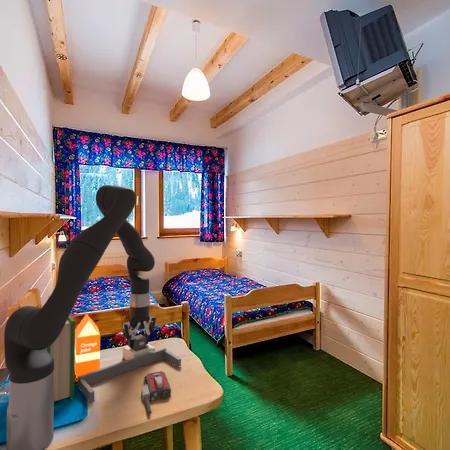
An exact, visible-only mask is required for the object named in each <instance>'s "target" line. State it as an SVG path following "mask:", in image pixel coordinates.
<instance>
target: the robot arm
mask: <svg viewBox="0 0 450 450" xmlns="http://www.w3.org/2000/svg"><path fill="white" fill-rule="evenodd" d="M136 202H137V194H136V192H135V190H134V189H132V188H130V187H126V186H122V185H111V184H104V185H101V186H100V187H99V188H98V189H97V191H96V194H95V203H96V206H97V208H98V210H99V211H100V213H101V214H102V216H103V217H102V218H100V220H98V221H96V222H95V223H94V224H91V225H90V226H89V227H87V228H85V229H84V230H82V231H80V232H79V233H78V234H76V235H75V236H74V237H73V238H72V240H71V241H70V243H69V244H68V245H67V247H66V248H65V250H64V251H63V253H62V254H61V256H60V259H59V263H58V268H57V278H56V283H55V286H54V289H53V290H52V293H50V295H49V296H48V299H47V300H46V302H45V303H44V304H43V306H42V307H39V306H33V305H24V306H22V307H19V308H18V309H16V310H14V311H13V312H12V313H11V314H10V316H9V317H8V319H7V321H6V323H5V327H4V334H3V337H4V338H3V339H4V340H3V343H4V345H3V347H4V364H5V366H6V367H5V368H6V369H7V371H8V376H9V378H8V380H9V381H8V406H7V407H6V440H5V441H6V445H5V446H6V449H7V450H45V448H47V447H48V446H50V444H51V443H52V441H53V438H54V429H55V428H54V417H55V416H54V409H55V406H54V405H55V401H54V358H53V357H52V355H51V354H50V353H49V352H48V351H47V350H46V348H47V347H49V346H50V345H52V344H53V343H54V342H55V340H56V339H57V338H58V336H59V335H60V333H61V331H62V330H63V328H64V326H65V324H66V321H67V319H68V317H69V315H71V312H72V310H73V309H74V307H75V305H76V302H77V300H78V298H79V296H80V295H81V292H82V291H83V289H85V288H84V287H85V286H86V284H87V281H88V280H89V279H90V277H91V275H92V274H93V272H94V271H95V269H96V267H97V266H98V264H99V262H100V261H101V259H102V257H103V256H104V254H105V252H106V250H107V248H108V247H109V246H110V244H111V242H112V240H113V238H115V235H117V237H118V238H119V240H120V242H121V244H122V246H123V249H124V250H125V251H124V252H125V253H126V255H127V256H128V257H127V259H126V269H127V271H128V275H129V276H128V277H129V280H130V297H129V320H128V321H127V322H122V323H121V328H122V330H121V331H122V336H123V338H124V339H125V340H127V341H128V344H127V345H128V346H129V347H130V348H131V349H133V348H134V336H136V334H137V333H138V331H141V330H143V332H144V334H143V336H145V337H146V345H147V344H149V342H150V335H151V333H154V332H155V327H156V323H157V318H156V317H155V316H151V315H150V305H151V304H150V298H151V297H150V278H148V277H146V276H144V275H141V274H140V272H151V271H152V270H153V269H154V267H155V266H156V265H155V264H156V261H155V257H154V256H153V253H152V252H151V251H150V250H149V249H148V248H147V246H146V245H145V244H144V242H143V239H142V236H141V234H140V233H139V230H138V229H136V228H135V226H134V225H132V224H131V223H130V221H128V220H127V219H128V218H129V216H130V215H131V213H132V212H133V210H134V208H135V206H136ZM148 323H149V325H148Z"/></svg>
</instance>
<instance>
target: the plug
mask: <svg viewBox="0 0 450 450" xmlns="http://www.w3.org/2000/svg"><path fill="white" fill-rule="evenodd" d="M145 348H146V337H145V336H144V334H143V335H142V334H138V335H135V336H134V348H133V350H134V351H139V350H142V349H145Z"/></svg>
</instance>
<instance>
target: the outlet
mask: <svg viewBox="0 0 450 450" xmlns="http://www.w3.org/2000/svg"><path fill="white" fill-rule="evenodd" d="M150 351H153V352H154V351H156V347H155V346H153V345H151V344H150V343H148V344H147V345H146V348H145V349H142V350H139V351H134V350H133V349H131V348H130V347H129V346H128V344H126V345H124V346H122V359H123V360H124V361H126V360H129V359H132V358H135V357H138V356H141V355H144V354H147V353H149V352H150Z"/></svg>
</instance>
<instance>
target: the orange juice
mask: <svg viewBox="0 0 450 450" xmlns="http://www.w3.org/2000/svg"><path fill="white" fill-rule="evenodd" d="M100 359H101V333H100V330H99V327H98V325H97V324H96V323H95V322H94V321H93V319H92V318H90V316H89V315H88V313H86V314H85V315H84V317H83V318H82V319H81V321H80V323H78V325H77V326H76V327H75V353H74V376H75V375H76V378H78V376H80V375H83V374H86V373H89V372H93V371H96V370H99V369H101V368H100V367H101V365H100V362H101V360H100ZM76 378H75V379H76Z"/></svg>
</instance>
